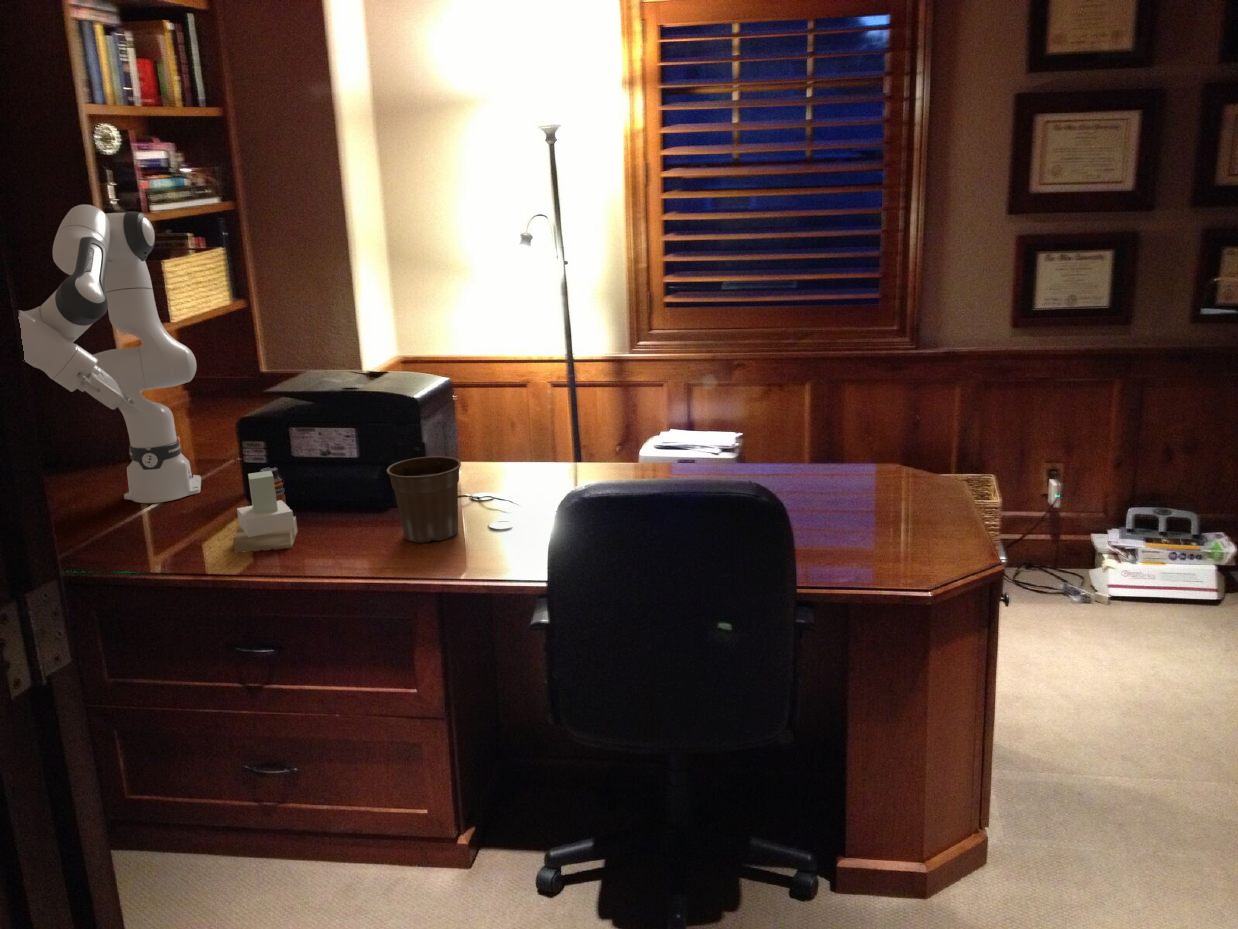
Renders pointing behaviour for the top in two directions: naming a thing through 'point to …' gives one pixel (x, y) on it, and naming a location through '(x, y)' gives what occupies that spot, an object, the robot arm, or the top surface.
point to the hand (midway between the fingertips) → (134, 409)
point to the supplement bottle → (277, 484)
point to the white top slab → (265, 520)
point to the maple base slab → (265, 540)
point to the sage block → (262, 492)
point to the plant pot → (427, 497)
